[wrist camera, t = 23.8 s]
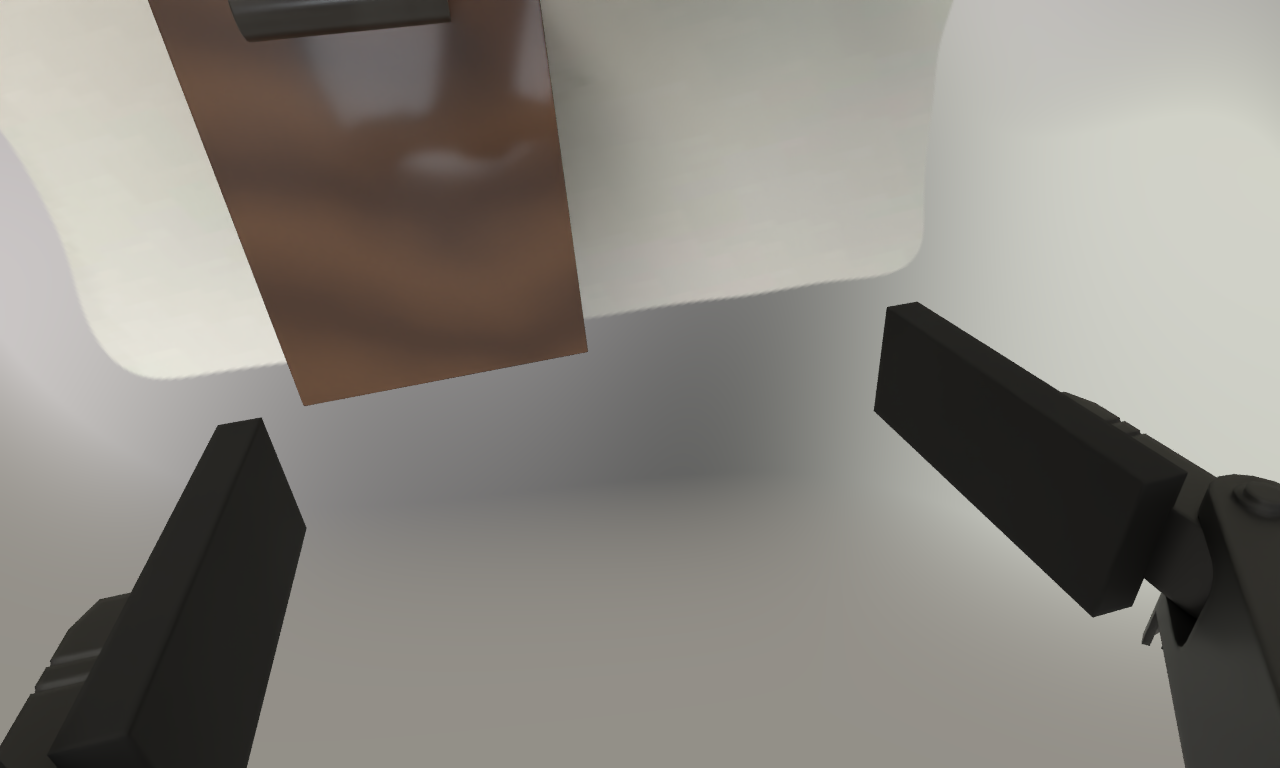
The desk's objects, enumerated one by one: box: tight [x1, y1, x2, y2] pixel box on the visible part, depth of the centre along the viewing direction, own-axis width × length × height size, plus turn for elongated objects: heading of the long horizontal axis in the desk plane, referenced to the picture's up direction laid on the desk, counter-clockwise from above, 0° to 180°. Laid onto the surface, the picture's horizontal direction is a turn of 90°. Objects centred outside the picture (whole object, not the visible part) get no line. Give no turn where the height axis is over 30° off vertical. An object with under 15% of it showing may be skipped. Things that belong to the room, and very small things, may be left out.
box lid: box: [148, 0, 588, 406], centre depth 25 cm, size 17×13×5 cm
